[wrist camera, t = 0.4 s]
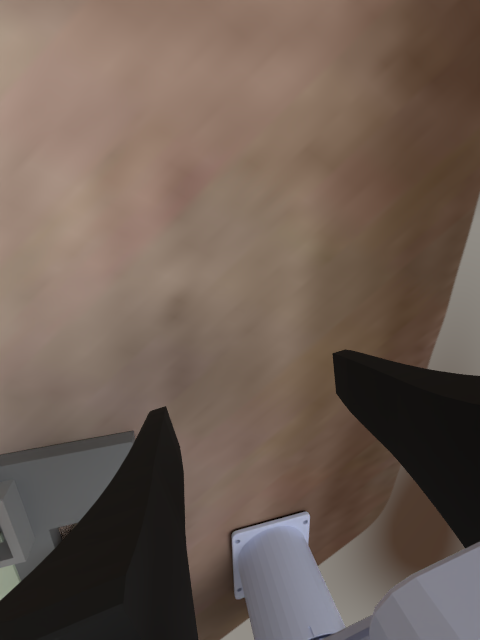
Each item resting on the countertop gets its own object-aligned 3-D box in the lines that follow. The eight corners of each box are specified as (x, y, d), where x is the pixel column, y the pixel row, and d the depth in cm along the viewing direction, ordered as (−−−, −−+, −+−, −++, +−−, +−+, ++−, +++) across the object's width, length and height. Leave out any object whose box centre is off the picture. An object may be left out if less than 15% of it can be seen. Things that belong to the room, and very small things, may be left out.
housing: (155, 558, 27) (155, 593, 24) (-71, 621, 23) (-100, 672, 20) (133, 430, 22) (130, 457, 20) (-154, 483, 18) (-205, 525, 16)
